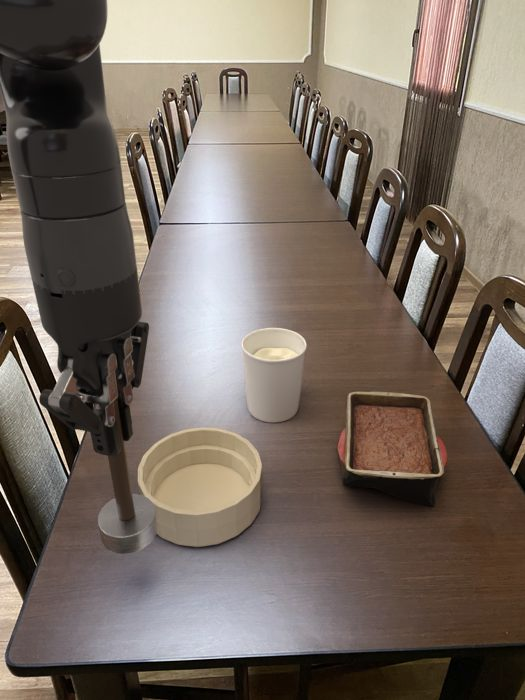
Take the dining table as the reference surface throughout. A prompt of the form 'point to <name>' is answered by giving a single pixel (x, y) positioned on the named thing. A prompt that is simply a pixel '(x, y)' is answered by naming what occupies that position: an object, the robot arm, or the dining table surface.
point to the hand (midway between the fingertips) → (114, 444)
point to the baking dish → (392, 445)
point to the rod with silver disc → (125, 508)
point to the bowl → (202, 485)
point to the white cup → (273, 373)
